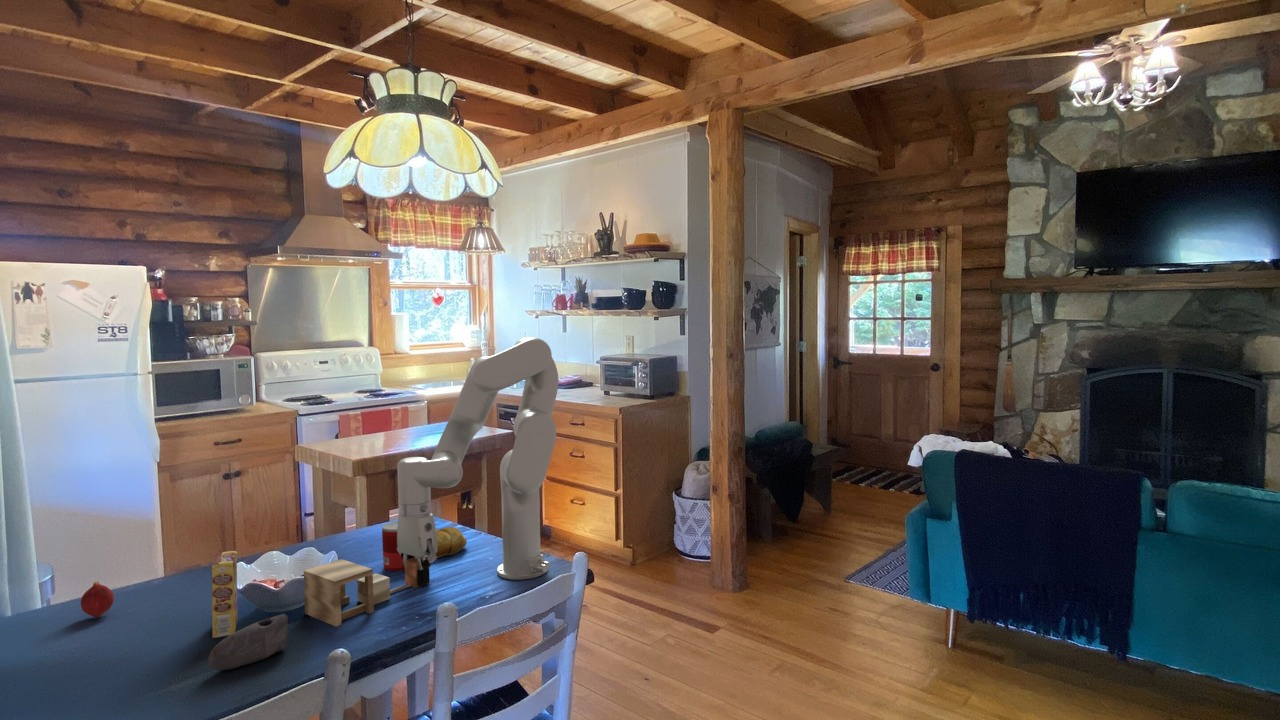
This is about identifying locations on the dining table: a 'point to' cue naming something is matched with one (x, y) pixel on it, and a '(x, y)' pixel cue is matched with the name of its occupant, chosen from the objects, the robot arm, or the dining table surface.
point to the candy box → (224, 594)
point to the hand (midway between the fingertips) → (417, 581)
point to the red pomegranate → (97, 600)
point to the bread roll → (449, 541)
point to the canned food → (391, 548)
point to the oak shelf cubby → (335, 590)
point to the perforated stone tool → (250, 644)
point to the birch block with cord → (383, 583)
